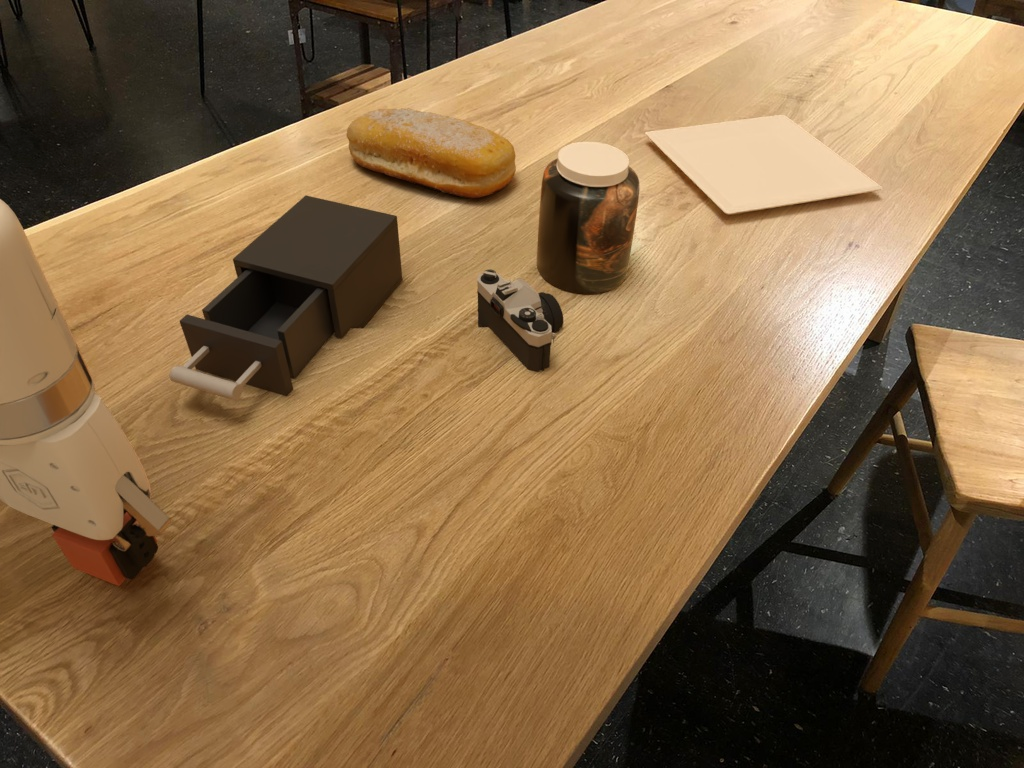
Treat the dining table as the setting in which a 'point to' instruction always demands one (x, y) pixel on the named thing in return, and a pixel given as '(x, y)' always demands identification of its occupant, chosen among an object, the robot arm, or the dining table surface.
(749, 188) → the plate
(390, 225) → the cabinet
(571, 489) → the dining table surface
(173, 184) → the dining table surface
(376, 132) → the bread
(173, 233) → the dining table surface
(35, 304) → the robot arm
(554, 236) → the jar
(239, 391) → the drawer
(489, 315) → the camera
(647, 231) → the dining table surface
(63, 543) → the block
